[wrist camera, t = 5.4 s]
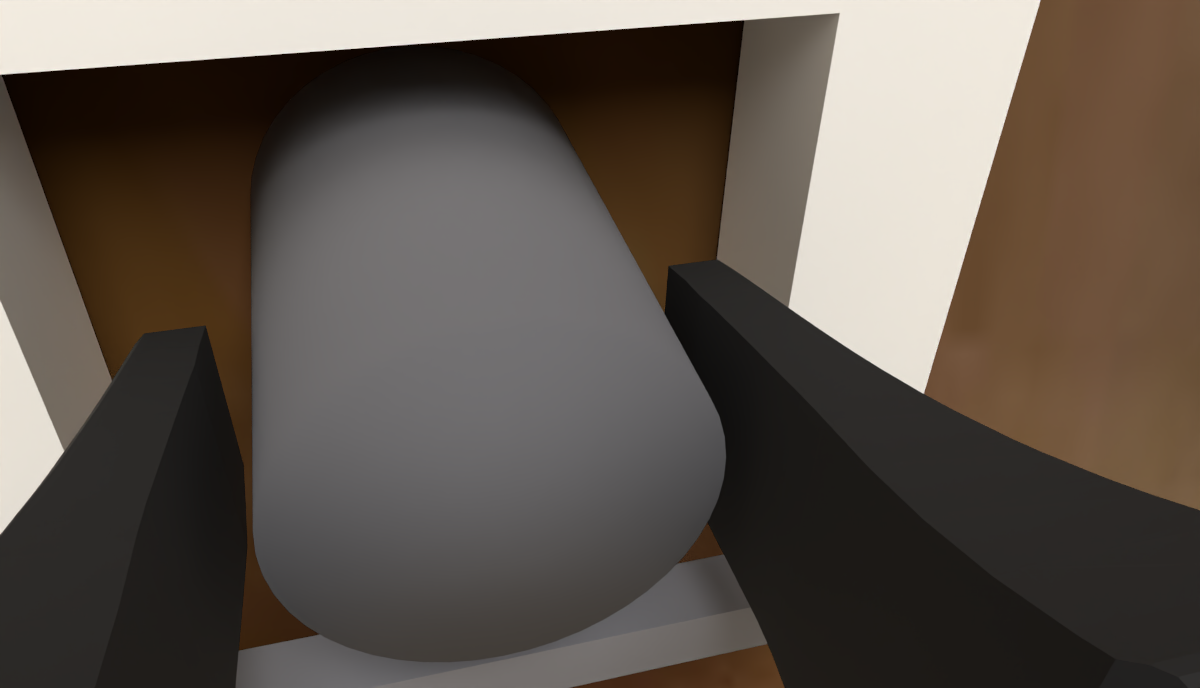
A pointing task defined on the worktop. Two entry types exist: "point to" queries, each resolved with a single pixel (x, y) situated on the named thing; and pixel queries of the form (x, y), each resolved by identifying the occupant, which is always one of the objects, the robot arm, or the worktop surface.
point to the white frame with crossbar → (746, 244)
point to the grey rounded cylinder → (458, 371)
